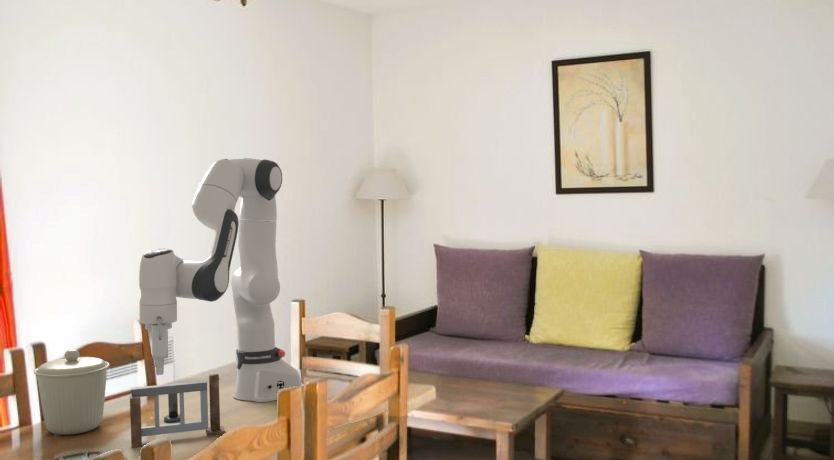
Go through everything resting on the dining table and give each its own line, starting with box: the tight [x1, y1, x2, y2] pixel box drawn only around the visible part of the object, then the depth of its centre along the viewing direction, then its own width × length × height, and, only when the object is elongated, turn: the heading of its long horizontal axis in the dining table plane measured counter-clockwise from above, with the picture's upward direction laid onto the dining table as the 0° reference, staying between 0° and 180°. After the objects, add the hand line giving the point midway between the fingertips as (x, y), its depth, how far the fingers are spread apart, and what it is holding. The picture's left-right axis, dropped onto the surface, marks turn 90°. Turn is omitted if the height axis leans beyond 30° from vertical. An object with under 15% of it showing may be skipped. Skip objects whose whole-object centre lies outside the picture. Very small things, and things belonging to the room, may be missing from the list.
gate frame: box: [129, 373, 226, 448], centre depth 197 cm, size 22×6×15 cm, turn 110°
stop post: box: [163, 393, 180, 424], centre depth 214 cm, size 5×5×9 cm
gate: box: [130, 380, 209, 438], centre depth 197 cm, size 18×2×12 cm, turn 110°
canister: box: [33, 348, 111, 436], centre depth 206 cm, size 18×18×21 cm
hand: (158, 370), depth 196 cm, fingers open, 8 cm apart
